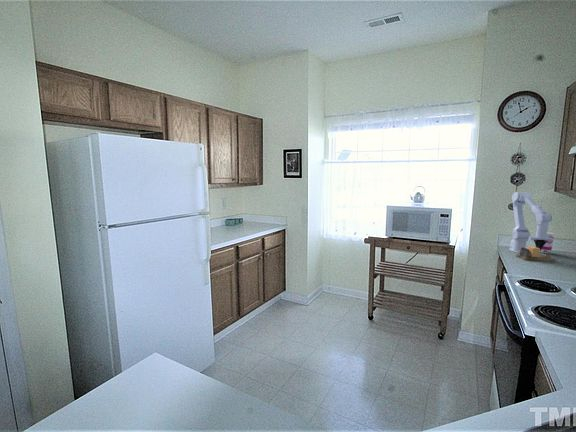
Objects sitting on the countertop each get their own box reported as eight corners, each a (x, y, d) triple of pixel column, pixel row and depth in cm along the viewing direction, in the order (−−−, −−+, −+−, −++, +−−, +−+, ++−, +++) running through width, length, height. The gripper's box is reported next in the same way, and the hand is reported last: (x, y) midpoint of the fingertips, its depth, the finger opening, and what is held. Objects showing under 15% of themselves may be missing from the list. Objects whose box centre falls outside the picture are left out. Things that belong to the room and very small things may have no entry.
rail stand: (515, 256, 217) (517, 246, 216) (543, 257, 216) (545, 247, 215) (526, 260, 207) (527, 250, 206) (555, 261, 206) (557, 251, 205)
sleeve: (526, 254, 214) (527, 246, 213) (532, 254, 214) (534, 246, 213) (531, 256, 209) (533, 248, 208) (538, 257, 209) (540, 248, 208)
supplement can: (553, 254, 224) (557, 234, 221) (542, 254, 224) (545, 233, 221) (544, 251, 232) (548, 231, 229) (533, 250, 232) (536, 231, 229)
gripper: (535, 232, 205) (531, 251, 207) (557, 232, 204) (554, 252, 206) (527, 229, 212) (524, 248, 214) (549, 230, 211) (545, 249, 213)
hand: (538, 250), depth 211 cm, fingers closed
